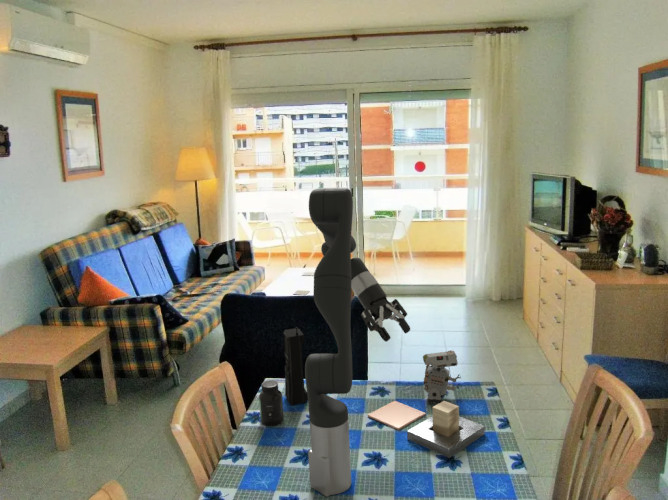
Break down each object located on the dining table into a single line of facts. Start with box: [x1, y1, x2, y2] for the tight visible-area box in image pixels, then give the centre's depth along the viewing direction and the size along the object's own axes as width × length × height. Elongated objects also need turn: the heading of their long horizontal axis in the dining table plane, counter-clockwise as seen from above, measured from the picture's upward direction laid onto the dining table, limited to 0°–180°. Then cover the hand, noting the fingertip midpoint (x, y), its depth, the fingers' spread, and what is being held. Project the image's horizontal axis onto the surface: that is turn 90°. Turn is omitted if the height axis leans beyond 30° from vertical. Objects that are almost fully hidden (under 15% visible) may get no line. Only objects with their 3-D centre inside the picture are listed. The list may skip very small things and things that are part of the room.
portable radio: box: [283, 326, 308, 406], centre depth 188 cm, size 8×6×25 cm
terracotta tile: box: [367, 400, 426, 431], centre depth 177 cm, size 12×12×1 cm
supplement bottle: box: [258, 380, 285, 428], centre depth 176 cm, size 7×7×12 cm
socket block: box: [406, 415, 486, 459], centre depth 163 cm, size 16×14×2 cm
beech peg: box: [432, 400, 460, 438], centre depth 163 cm, size 5×5×9 cm
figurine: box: [422, 350, 462, 405], centre depth 185 cm, size 9×12×15 cm
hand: (398, 335), depth 170 cm, fingers open, 8 cm apart
